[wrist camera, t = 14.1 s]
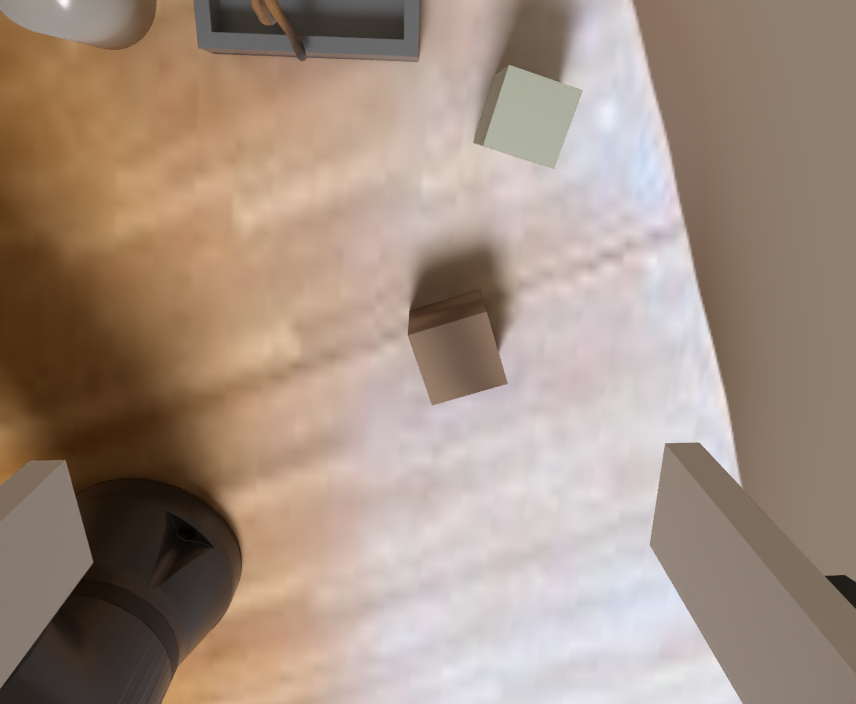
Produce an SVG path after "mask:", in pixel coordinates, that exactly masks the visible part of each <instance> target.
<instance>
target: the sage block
mask: <svg viewBox="0 0 856 704" xmlns="http://www.w3.org/2000/svg"><path fill="white" fill-rule="evenodd" d="M582 91H583V90H580V89H578V88H575V87H572V86H569V85H566V84H563V83H560V82H557V81H554V80H552V79H549V78H546V77H543V76H540V75H537V74H534V73H531V72H528V71H526V70H523V69H520V68H517V67H514V66H511V65H508V66H507V67H505V68H504V69H502V70H501V71H500V72H498V73H497V74H495V76H494V79H493V82H492V85H491V88H490V92H489V95H488V98H487V101H486V104H485V108H484V111H483V114H482V117H481V120H480V124H479V127H478V130H477V133H476V136H475V140H474V143H475V144H478V145H481V146H484V147H487V148H490V149H493V150H496V151H499V152H502V153H505V154H508V155H512V156H515V157H518V158H521V159H524V160H527V161H530V162H533V163H536V164H540V165H543V166H546V167H549V168H553V169H554V167H555V165H556V162H557V159H558V157H559V154H560V151H561V148H562V146H563V143H564V140H565V137H566V135H567V132H568V129H569V126H570V124H571V121H572V118H573V115H574V113H575V110H576V107H577V105H578V102H579V99H580V96H581V94H582Z"/></svg>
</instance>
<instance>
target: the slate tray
mask: <svg viewBox="0 0 856 704" xmlns="http://www.w3.org/2000/svg"><path fill="white" fill-rule="evenodd" d="M277 1H278V3H279V5H280V7H281V9H282V11H283V13H284V15H285V16H286V18H287V19H288V21H289V22H290V23H291V25H292V26H293V28H294V29H295V30H296V32H297V33H298V34H299V35H300V37H301V39H302V41H303V44H304V47H305V53H306V57H310V58H336V59H361V60H387V61H412V62H418V56H419V16H420V0H277ZM194 9H195V19H196V30H197V40H198V48H200V49H202V50H205V51H208V52H211V53H214V54H233V55H259V56H284V57H297V56H296V54H295V52H294V50H293V49H292V44H291V41H290V40H289V38H288V36H287V34H286V33H285V32H284V31H283V29H282V28H281V27H280V25H279V24H278V23H277V22H276V23H275V24H274V25H264V24H262V23H261V22H260V20H259V18H258V16H257V14H256V13H255V11H254V10H253V8H252V5H251V2H250V0H194Z"/></svg>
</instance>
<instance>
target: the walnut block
mask: <svg viewBox="0 0 856 704" xmlns="http://www.w3.org/2000/svg"><path fill="white" fill-rule="evenodd" d="M408 337H409V340H410V343H411V346H412V349H413V352H414V354H415V357H416V360H417V363H418V366H419V369H420V372H421V375H422V377H423V380H424V383H425V386H426V389H427V392H428V395H429V398H430V401H431V403H432V405H435V404H438V403H442V402H445V401H449V400H452V399H456V398H459V397H463V396H466V395H470V394H473V393H477V392H480V391H484V390H487V389H491V388H494V387H498V386H501V385H505V384H508V383H507V380H506V376H505V373H504V370H503V366H502V363H501V359H500V356H499V352H498V349H497V345H496V342H495V338H494V335H493V331H492V328H491V324H490V321H489V318H488V314H487V311H486V308H485V305H484V302H483V300H482V297H481V294H480V291H479V290H478V291H474V292H471V293H468V294H464V295H461V296H458V297H455V298H451V299H448V300H445V301H441V302H438V303H435V304H432V305H428V306H425V307H422V308H418V309H415V310H412V311H409V326H408Z"/></svg>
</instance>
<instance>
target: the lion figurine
mask: <svg viewBox="0 0 856 704" xmlns="http://www.w3.org/2000/svg"><path fill="white" fill-rule="evenodd" d="M250 2H251V5H252V8H253V10H254V11H255V13H256V14H257V16H258V18H259V20H260V22H261V23H262V24H264V25H274V24H275V23H276V22H277V23H278V24H279V25H280V27H281V28H282V29H283V31H284V32H285V33H286V34H287V36H288V38H289V40H290V41H291V44H292V49H293V50H294V52H295V54H296V56H297V58H298V59H299V60H301V61H305V60H306V53H305V47H304V44H303V41H302V39H301V37H300V35H299V34H298V33H297V32H296V30H295V29H294V28H293V26H292V25H291V23H290V22H289V21H288V19H287V18H286V16H285V15H284V13H283V11H282V9H281V7H280V5H279V3H278V1H277V0H250Z"/></svg>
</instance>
